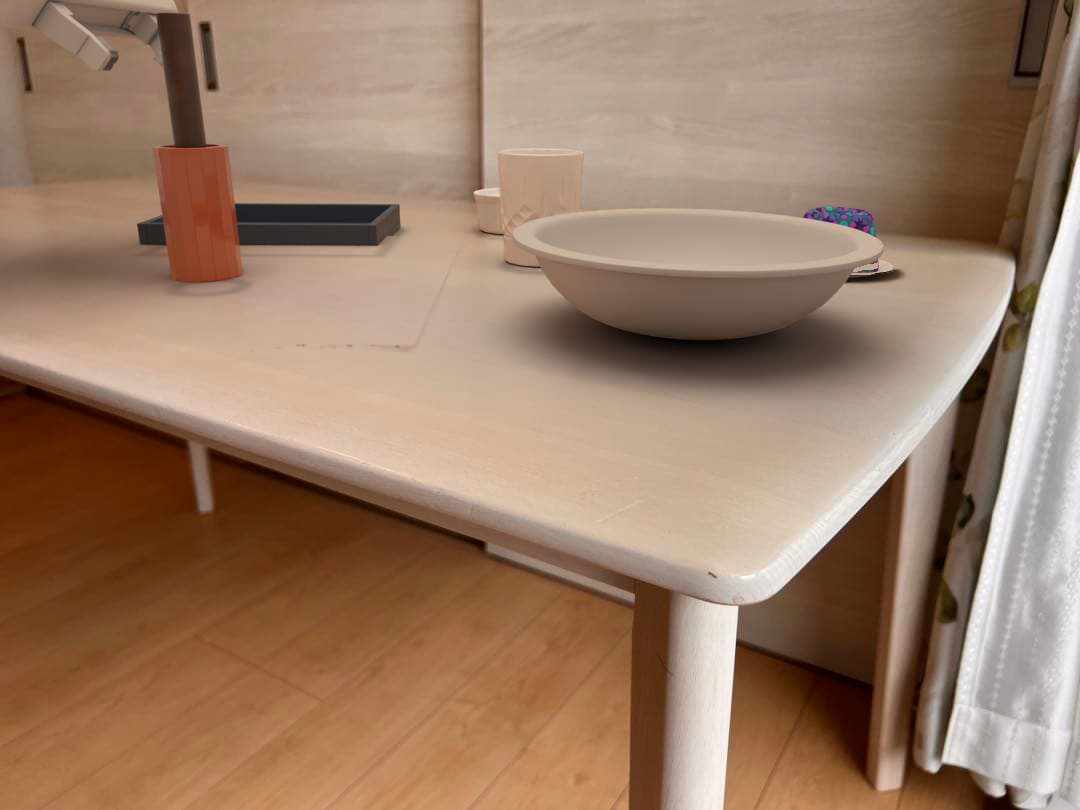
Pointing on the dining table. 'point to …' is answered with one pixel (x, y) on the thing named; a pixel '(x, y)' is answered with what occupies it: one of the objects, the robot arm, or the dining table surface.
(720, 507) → the dining table surface
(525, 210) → the white cup
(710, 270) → the soup bowl
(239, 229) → the tray
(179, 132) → the stick
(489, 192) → the ramekin
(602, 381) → the dining table surface
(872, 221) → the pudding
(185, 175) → the crock
